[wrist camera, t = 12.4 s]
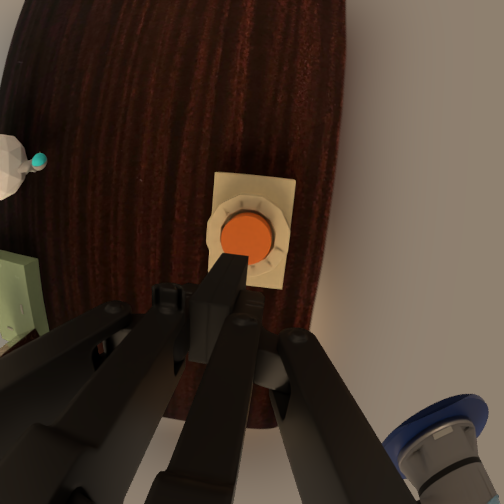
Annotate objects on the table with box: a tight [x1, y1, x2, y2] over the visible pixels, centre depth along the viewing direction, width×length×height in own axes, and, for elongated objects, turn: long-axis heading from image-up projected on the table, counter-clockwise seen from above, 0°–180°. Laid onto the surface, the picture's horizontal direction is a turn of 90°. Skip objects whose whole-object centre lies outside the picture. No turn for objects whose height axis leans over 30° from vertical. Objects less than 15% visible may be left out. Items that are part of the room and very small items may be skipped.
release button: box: [221, 212, 272, 265], centre depth 25 cm, size 4×4×2 cm
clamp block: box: [0, 250, 49, 341], centre depth 33 cm, size 16×13×3 cm
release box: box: [206, 172, 296, 289], centre depth 27 cm, size 10×7×4 cm
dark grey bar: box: [0, 328, 40, 358], centre depth 28 cm, size 6×2×9 cm, turn 113°
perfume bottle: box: [0, 134, 47, 200], centre depth 26 cm, size 8×8×12 cm
